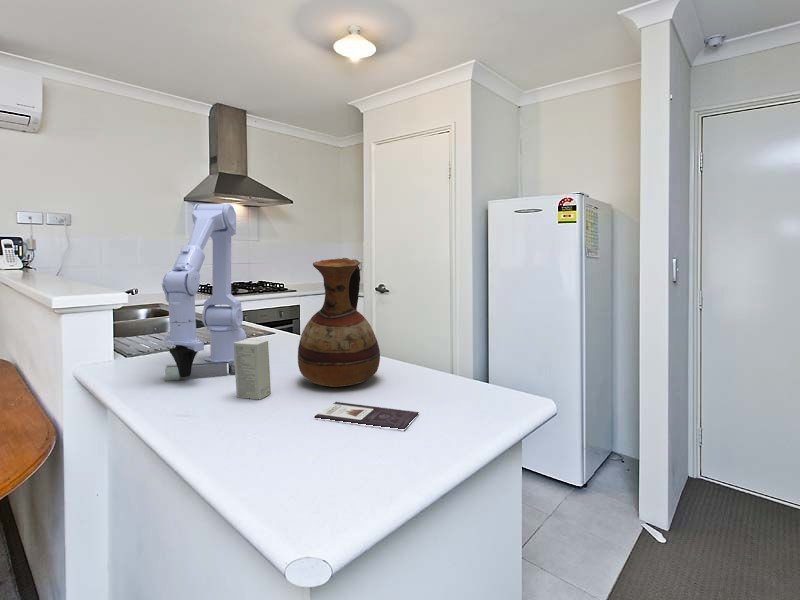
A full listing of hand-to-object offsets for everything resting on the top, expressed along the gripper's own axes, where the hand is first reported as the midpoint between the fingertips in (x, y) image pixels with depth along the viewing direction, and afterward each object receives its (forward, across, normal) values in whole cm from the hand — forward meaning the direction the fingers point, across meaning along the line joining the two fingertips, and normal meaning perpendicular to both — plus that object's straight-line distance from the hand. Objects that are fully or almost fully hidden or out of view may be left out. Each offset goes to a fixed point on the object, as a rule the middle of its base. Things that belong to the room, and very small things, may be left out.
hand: (185, 376), depth 113 cm
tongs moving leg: (+1, 0, +3) cm, 3 cm away
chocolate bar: (+2, +51, +9) cm, 51 cm away
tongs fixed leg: (+1, -1, +6) cm, 6 cm away
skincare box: (+1, +23, +3) cm, 23 cm away
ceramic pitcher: (+1, +29, +23) cm, 37 cm away
